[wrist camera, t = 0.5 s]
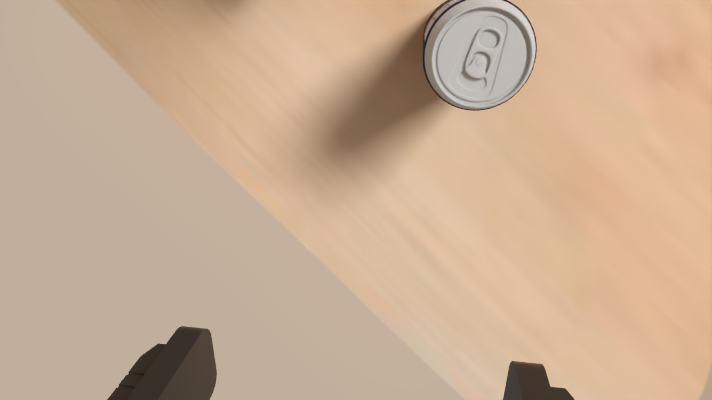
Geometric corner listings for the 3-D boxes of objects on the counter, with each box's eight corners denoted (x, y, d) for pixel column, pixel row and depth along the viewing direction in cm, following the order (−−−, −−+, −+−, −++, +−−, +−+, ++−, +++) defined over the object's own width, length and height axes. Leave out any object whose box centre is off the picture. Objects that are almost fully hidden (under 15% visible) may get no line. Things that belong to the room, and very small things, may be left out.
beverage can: (412, 64, 35) (406, 95, 24) (439, -16, 33) (448, -22, 22) (484, 88, 35) (511, 131, 24) (517, 10, 33) (564, 18, 22)
